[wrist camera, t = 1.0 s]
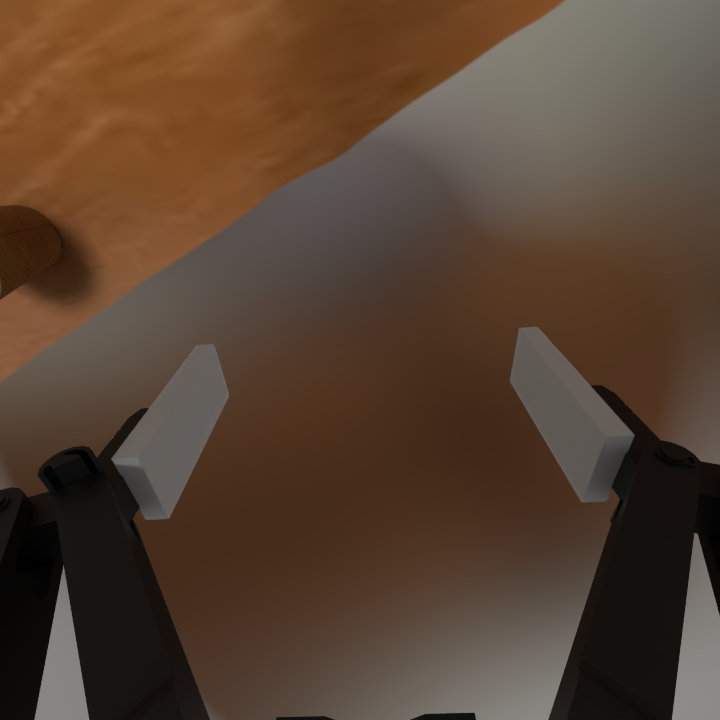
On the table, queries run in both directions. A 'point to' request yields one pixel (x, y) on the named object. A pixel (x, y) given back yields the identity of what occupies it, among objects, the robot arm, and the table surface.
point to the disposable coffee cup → (25, 246)
